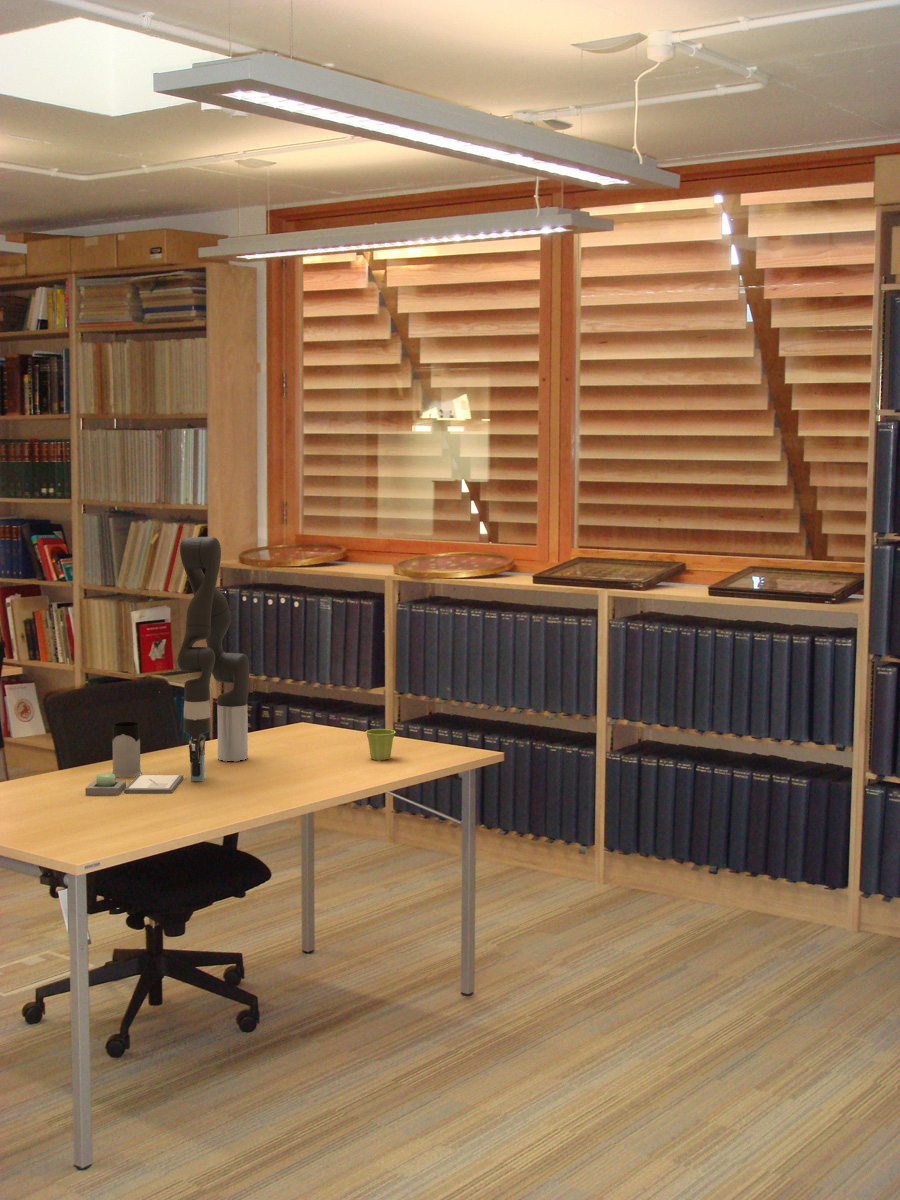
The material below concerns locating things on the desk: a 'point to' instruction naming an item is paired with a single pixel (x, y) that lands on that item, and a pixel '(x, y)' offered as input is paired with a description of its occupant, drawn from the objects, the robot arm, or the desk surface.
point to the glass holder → (126, 749)
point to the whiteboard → (153, 784)
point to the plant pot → (380, 743)
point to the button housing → (105, 788)
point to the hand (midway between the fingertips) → (197, 774)
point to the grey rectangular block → (202, 771)
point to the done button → (105, 779)
